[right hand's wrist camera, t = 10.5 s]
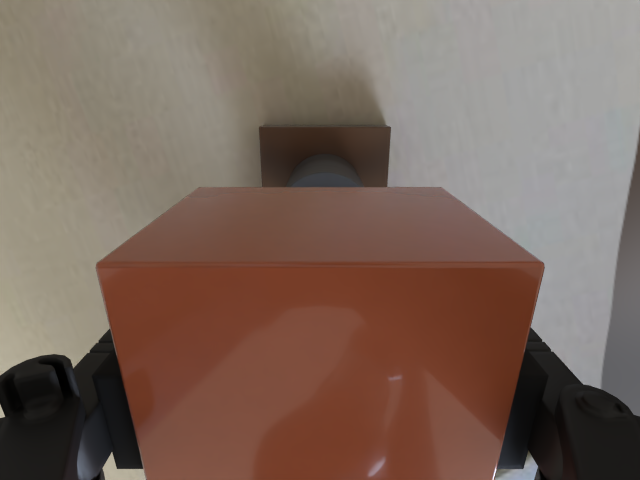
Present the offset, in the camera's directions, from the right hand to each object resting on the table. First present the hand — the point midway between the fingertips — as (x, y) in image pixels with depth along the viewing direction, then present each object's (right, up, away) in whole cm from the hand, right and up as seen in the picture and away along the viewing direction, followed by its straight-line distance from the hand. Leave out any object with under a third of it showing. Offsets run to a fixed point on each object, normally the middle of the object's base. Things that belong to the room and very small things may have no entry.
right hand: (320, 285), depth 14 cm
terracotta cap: (0, 0, -1) cm, 1 cm away
